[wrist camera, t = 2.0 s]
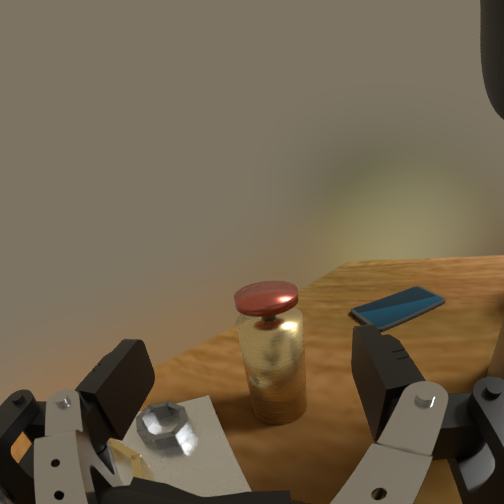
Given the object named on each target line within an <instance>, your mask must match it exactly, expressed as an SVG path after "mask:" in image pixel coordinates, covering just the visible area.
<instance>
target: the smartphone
mask: <svg viewBox="0 0 504 504" xmlns="http://www.w3.org/2000/svg"><path fill="white" fill-rule="evenodd" d="M444 303H445V298H443V297H442V296H440V295H438V294H435V293H433V292H431V291H429V290H427V289H425V288H423V287H420V286H415V287H412V288H409V289H407V290H404V291H401V292H399V293H396V294H393V295H390V296H388V297H385V298H382V299H379V300H376V301H373V302H370V303H367V304H364V305H361V306H358V307H355V308H353V309H351V315H352V316H355V317H356V319H357V320H358V321H360V322H362V323H363V324H364V325H367V324H375V325H376V327H377V328H378V330H379V332H383V331H386V330H388V329H390V328H393V327H395V326H397V325H400V324H402V323H404V322H407V321H409V320H411V319H413V318H415V317H418V316H420V315H422V314H424V313H426V312H428V311H430V310H433V309H435V308H437V307H439V306H441V305H443V304H444Z"/></svg>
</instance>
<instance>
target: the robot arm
mask: <svg viewBox="0 0 504 504" xmlns="http://www.w3.org/2000/svg"><path fill="white" fill-rule="evenodd" d="M480 5H481V34H480V35H481V36H480V38H481V39H480V40H481V44H480V46H481V62H482V63H481V64H482V72H483V78H484V83H485V88H486V92H487V95H488V98H489V100H490V102H491V104H492V106H493V108H494V109H495V111H496V112H497V114H498V115H499V116H500V117H501V118H503V119H504V0H480ZM351 366H352V374H353V378H354V381H355V384H356V387H357V390H358V393H359V396H360V399H361V402H362V405H363V408H364V411H365V414H366V417H367V420H368V423H369V427H370V430H371V433H372V436H373V440H374V442H373V443H372V445H371V446H370V447H369V449H368V450H367V452H366V454H365V455H364V457H363V458H362V460H361V461H360V463H359V464H358V466H357V467H356V469H355V470H354V472H353V473H352V475H351V476H350V478H349V479H348V480H347V482H346V483H345V485H344V486H343V487H342V489H341V490H340V491H339V493H338V494H337V495H336V497H335V498H334V499H333V500H332V502H331V503H330V504H413V502H414V500H415V498H416V496H417V493H418V491H419V489H420V487H421V485H422V483H423V480H424V478H425V476H426V473H427V471H428V468H429V466H430V463H431V460H438V459H447V460H448V463H449V465H450V468H451V471H452V473H453V476H454V479H455V482H456V485H457V488H458V491H459V494H460V497H461V500H462V503H463V504H504V318H503V322H502V326H501V330H500V333H499V337H498V340H497V343H496V347H495V350H494V353H493V356H492V359H491V362H490V365H489V368H488V371H487V377H484V378H482V379H480V380H478V381H477V382H476V383H475V385H474V387H473V390H472V392H469V393H458V394H447V392H446V390H445V389H444V388H443V387H442V386H441V385H439V384H437V383H434V382H429V381H426V380H425V379H424V377H423V376H422V374H421V373H420V371H419V370H418V368H417V367H416V365H415V364H414V362H413V360H412V359H411V357H410V358H409V355H408V353H407V352H406V351H405V349H404V347H403V346H402V344H401V343H400V341H399V340H397V339H396V338H394V337H392V336H391V335H389V334H388V335H381V333H380V332H379V330H378V328H377V327H376V325H375V324H367V325H361V326H355V327H354V328H353V341H352V360H351ZM154 381H155V374H154V370H153V367H152V364H151V361H150V359H149V356H148V353H147V350H146V347H145V344H144V342H143V341H142V340H137V339H134V340H133V339H124V340H122V341H121V343H120V344H119V345H118V346H117V347H116V348H115V349H114V350H113V351H112V352H110V353H109V354H107V355H106V356H104V357H103V358H102V359H101V360H100V362H99V363H98V365H96V366H95V367H94V368H93V369H92V371H91V372H90V373H89V374H88V375H87V376H86V377H85V379H84V380H83V381H82V382H81V383H80V384H79V385H78V387H77V388H76V389H75V390H72V389H64V390H60V391H58V392H56V393H54V394H53V395H52V396H50V398H49V399H48V401H47V402H39V401H38V402H37V401H36V400H35V398H34V396H33V394H32V393H31V392H30V391H29V390H19V391H16V392H14V393H13V394H11V395H10V396H9V397H8V398H7V399H6V400H5V401H4V402H3V404H2V405H1V406H0V504H310V503H306V502H301V501H295V500H291V498H290V491H268V492H242V493H235V494H228V495H221V496H212V497H201V496H198V495H195V494H192V493H189V492H187V491H184V490H181V489H179V488H176V487H174V486H171V485H169V484H166V483H161V482H156V481H151V480H146V479H142V478H138V477H133V479H132V481H131V483H130V485H123V483H122V481H121V479H120V476H119V473H118V470H117V466H116V463H115V460H114V456H113V453H112V449H111V446H110V445H109V443H108V440H109V439H110V438H112V439H116V440H121V441H123V439H124V437H125V435H126V433H127V431H128V430H129V428H130V426H131V424H132V422H133V421H134V419H135V417H136V415H137V413H138V412H139V410H140V408H141V406H142V405H143V403H144V401H145V399H146V397H147V396H148V394H149V392H150V390H151V389H152V387H153V385H154ZM22 431H23V432H24V434H25V435H26V436H27V438H28V439H29V440H30V442H31V443H32V445H31V446H30V447H29V449H28V450H27V452H26V453H25V455H24V456H23V458H22V459H21V460H20V462H19V463H17V462H16V461H15V460H14V459H13V457H12V455H11V446H12V445H13V443H14V442H15V441H16V439H17V438H18V437H19V435H20V434H21V433H22ZM375 441H377V442H375Z"/></svg>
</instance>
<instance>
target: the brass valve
mask: <svg viewBox="0 0 504 504" xmlns="http://www.w3.org/2000/svg"><path fill="white" fill-rule="evenodd" d="M234 300H235V306H236V309H237V311H238V312H240V313H241V315H240V316H239V317H238V318H237V320H236V326H237V331H238V337H239V342H240V347H241V352H242V357H243V363H244V368H245V373H246V378H247V383H248V388H249V392H250V397H251V402H252V407H253V411H254V414H255V416H256V417H257V418H258V419H259V420H260V421H262V422H264V423H267V424H271V425H283V424H288V423H291V422H293V421H295V420H297V419H299V418H300V417H301V416H302V415H303V414H304V412H305V411H306V408H307V392H306V369H305V351H304V335H303V320H302V313H301V311H300V310H299V309H298V308H296V307H294V306H295V305H296V304H297V303H298V290H297V287H296V286H295V285H293V284H291V283H289V282H284V281H264V282H259V283H254V284H251V285H248V286H245V287H243V288H241V289H240V290H238V291H237V292H236V293H235V295H234Z"/></svg>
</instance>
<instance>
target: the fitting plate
mask: <svg viewBox="0 0 504 504" xmlns="http://www.w3.org/2000/svg"><path fill="white" fill-rule="evenodd" d="M108 443H109V445H110V446H111V449H112V453H113V456H114V460H115V463H116V466H117V470H118V473H119V476H120V479H121V481H122V483H123V485H130V483H131V481H132V479H133V477H138V478H142V479H146V480H151V481H156V482H161V483H166V484H169V485H171V486H174V487H176V488H179V489H181V490H184V491H187V492H189V493H192V494H195V495H198V496H201V497H212V496H221V495H228V494H235V493H242V492H252V491H251V489H250V487H249V485H248V483H247V481H246V479H245V477H244V475H243V473H242V471H241V469H240V467H239V464H238V462H237V460H236V458H235V456H234V454H233V452H232V449H231V447H230V445H229V443H228V440H227V438H226V436H225V434H224V431H223V429H222V427H221V424H220V422H219V420H218V417H217V415H216V412H215V410H214V407H213V405H212V403H211V400H210V397H209V395H207V396H204V397H200V398H196V399H192V400H188V401H184V402H180V403H176V404H175V403H172V402H169V401H166V402H162V403H157V404H152V405H149V406H147V407H146V408H145V409H144V410H143V411H139V412H138V413H137V415H136V417H135V419H134V421H133V422H132V424H131V426H130V428H129V430H128V431H127V433H126V435H125V437H124V439H123V441H121V440H116V439H112V438H110V439H109V440H108Z"/></svg>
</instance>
